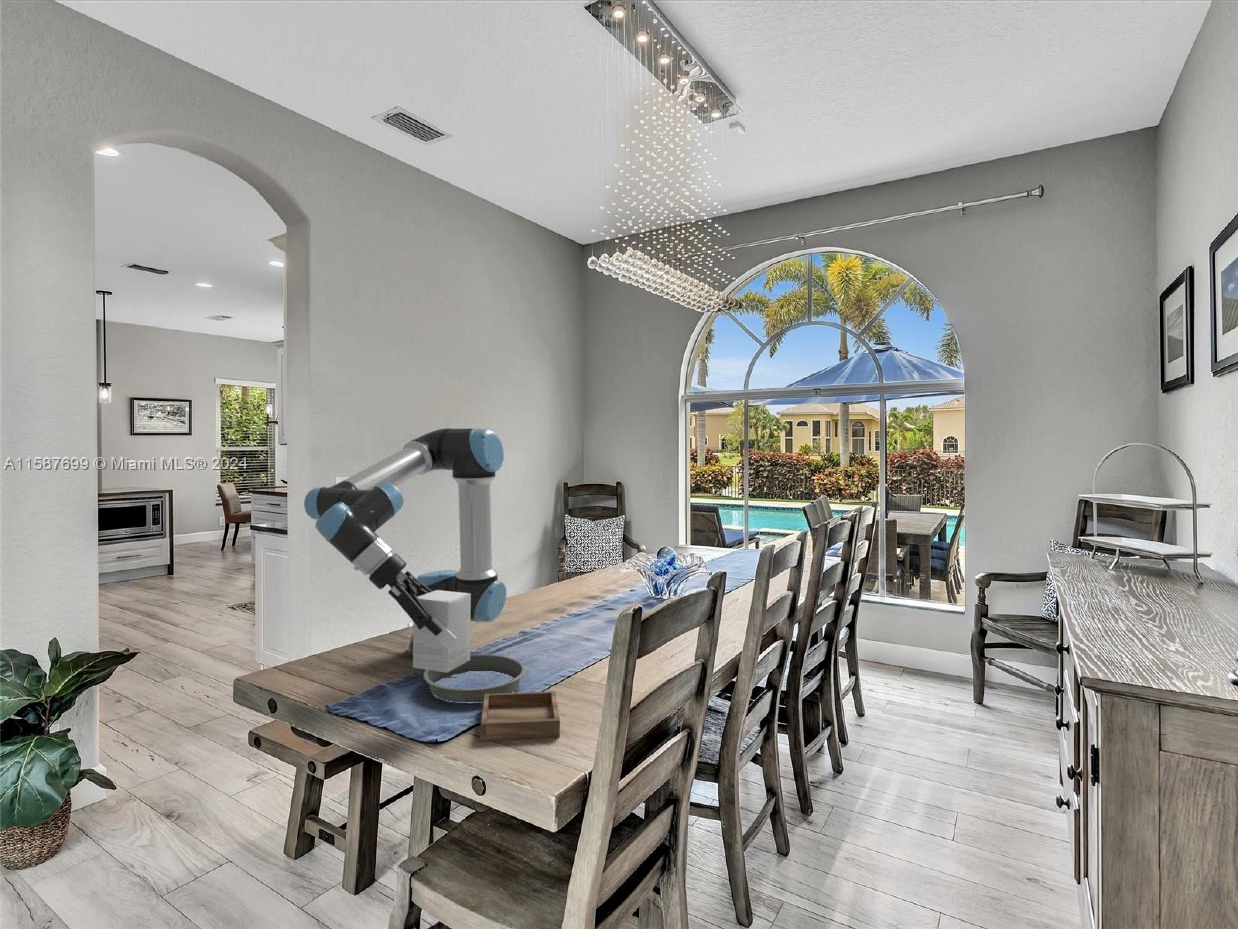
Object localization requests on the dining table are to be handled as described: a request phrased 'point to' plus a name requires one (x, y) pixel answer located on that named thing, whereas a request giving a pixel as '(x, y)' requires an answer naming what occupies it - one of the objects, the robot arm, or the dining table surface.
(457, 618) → the supplement box
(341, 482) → the robot arm
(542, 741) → the dining table surface
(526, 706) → the walnut tray
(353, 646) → the dining table surface
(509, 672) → the cake pan
